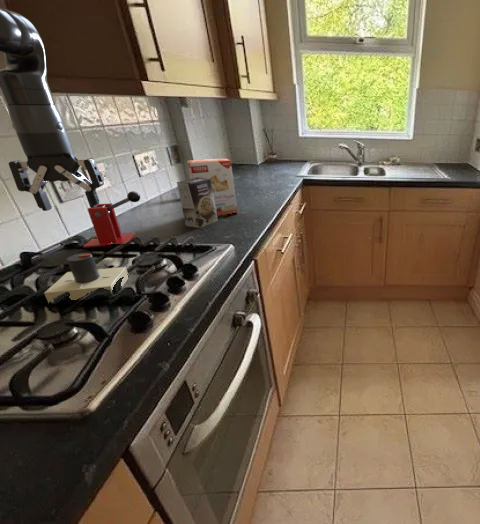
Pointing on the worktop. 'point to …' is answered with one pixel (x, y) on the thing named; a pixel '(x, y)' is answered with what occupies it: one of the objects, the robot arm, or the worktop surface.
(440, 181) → the worktop surface
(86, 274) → the knob
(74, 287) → the panel
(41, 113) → the robot arm
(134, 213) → the worktop surface
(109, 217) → the red lever stand
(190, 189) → the coffee box
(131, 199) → the lever
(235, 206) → the cracker box
